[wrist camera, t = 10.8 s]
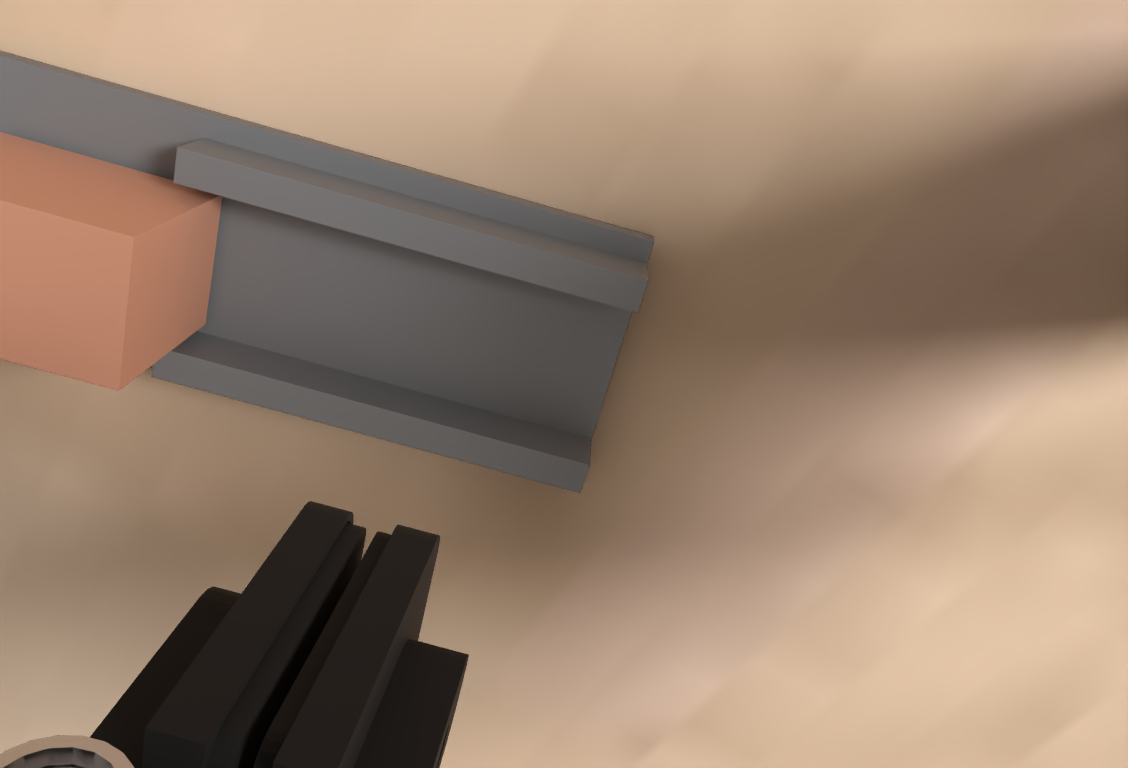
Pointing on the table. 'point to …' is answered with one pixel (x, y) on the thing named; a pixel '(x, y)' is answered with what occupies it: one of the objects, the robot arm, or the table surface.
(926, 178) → the table surface
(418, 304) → the chute
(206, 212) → the block
